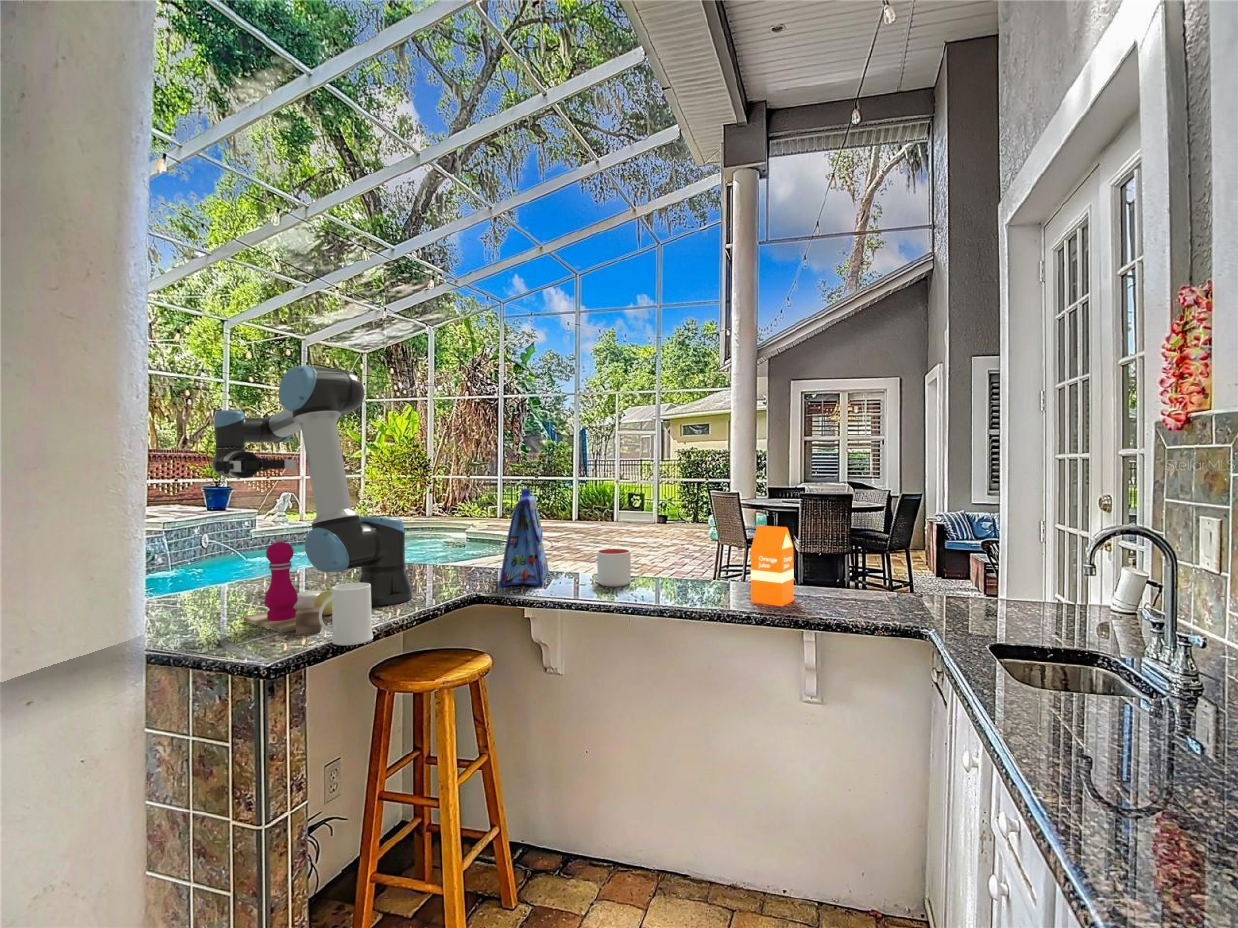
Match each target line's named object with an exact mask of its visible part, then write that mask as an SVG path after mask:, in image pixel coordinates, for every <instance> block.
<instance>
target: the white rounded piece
mask: <svg viewBox="0 0 1238 928" xmlns="http://www.w3.org/2000/svg"><path fill="white" fill-rule="evenodd" d="M322 592H325V591H324V590H305V591H300V592H296V593H297V597H298V601H297V603H296V604H295V605H294V607H293V608H295V609H302V608H313V607H314V601H315V599H316V597H317V596H318V595H319V594H320V593H322Z"/></svg>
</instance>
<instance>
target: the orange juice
mask: <svg viewBox="0 0 1238 928" xmlns="http://www.w3.org/2000/svg"><path fill="white" fill-rule="evenodd" d="M794 570H795V569H794V544H793V541H792V539H791V535H790V531H789V529H788V527H787V526H776V525H775V526H774V525H773V526H772V525H762V524H761V525H759V524H758V525H757V526H756V529H755V533H754V536H753V539H752V544H751V547H750V592H751V593H750V595H751V596H750V599H751V600H750V601H751V603H757V604H764V605H772V606H778V607H783V606H785V605H788V604H790V603H791V602H793V601H794V600H795V599H794V596H795V595H794V590H795V589H794V588H795V587H794V583H795V582H794V578H795V577H794V576H795V575H794V573H795V572H794Z"/></svg>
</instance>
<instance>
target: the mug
mask: <svg viewBox="0 0 1238 928" xmlns="http://www.w3.org/2000/svg"><path fill="white" fill-rule="evenodd" d="M331 592H332V596H330V597H329V598H327V599H326V600H325V601H324V603H323V604H322V606H321V608H320V611H319V621H320V624H321V628H323V629H324V630H325V631H327V632H329V633H332V639H331V643H332V644H333V645H335V646H355V645H361V644H366V643H368V642H370V641H372V640H373V638H374V634H373V620H372V606H371V584H369V583H361V582H359V581H357V582H347V583H341V584H336V585H334V586H332V587H331ZM330 601H332V614H331V617H332V627H329V626H327V625H326V624H325V623H324V621H323V615H322V612H323V609H324V607H325V606H326V605H327V603H329V602H330Z"/></svg>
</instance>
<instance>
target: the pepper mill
mask: <svg viewBox="0 0 1238 928" xmlns="http://www.w3.org/2000/svg"><path fill="white" fill-rule="evenodd" d="M265 551H266V552H265V557H266V559H267V560H268V561H269V563H268V570H270V573H271V576H270V577H271V578H270V579H271V580H270V584H269V587H268V589H267V591H266V594H265V597H264V605H265V606H266V608H268V609H269V610H268V611H266V612H267V619H268V620H270V621H282V620H288V619H292V618H294V617H295V614H296V611H297V610H296V609H295V608H293V607H294V605H295V604H296V603H297V601H298V597H297V593H298V592H297V590H296V589H295V586H294V585H293V583H292V581H291V578H290V577H291V576H290V570H291V568H292V567H293V566H292V564H293V563H292V561H291V559H292V558H293V557H294V554H295V553H294V548H293V547H292V545H291V544H289V543H287V542H285V539H284V537H283V536H281V535H278V536H276V538H275V542H274V543H272V544H270V545H269V546H268V547H267V548H266V550H265Z"/></svg>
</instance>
